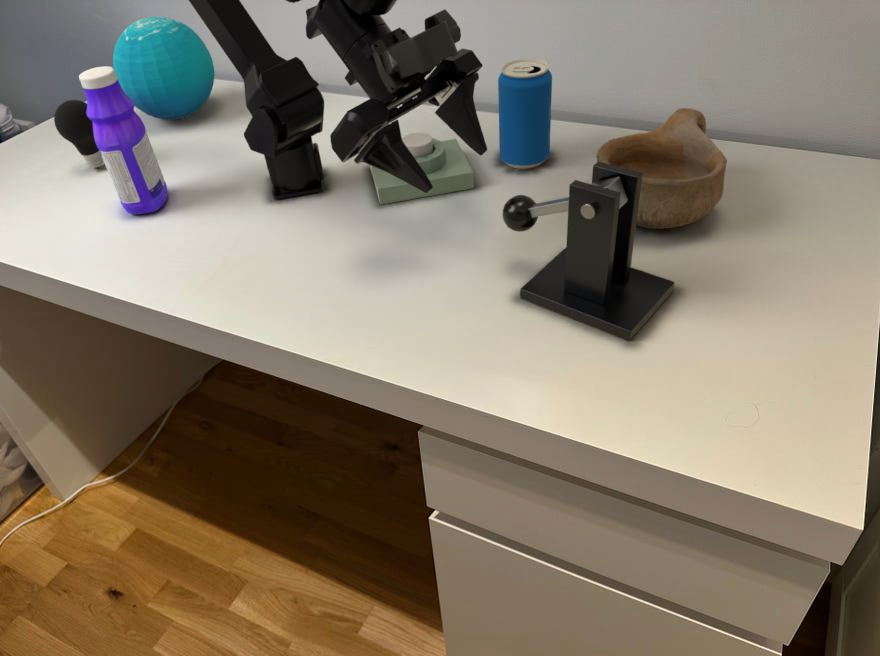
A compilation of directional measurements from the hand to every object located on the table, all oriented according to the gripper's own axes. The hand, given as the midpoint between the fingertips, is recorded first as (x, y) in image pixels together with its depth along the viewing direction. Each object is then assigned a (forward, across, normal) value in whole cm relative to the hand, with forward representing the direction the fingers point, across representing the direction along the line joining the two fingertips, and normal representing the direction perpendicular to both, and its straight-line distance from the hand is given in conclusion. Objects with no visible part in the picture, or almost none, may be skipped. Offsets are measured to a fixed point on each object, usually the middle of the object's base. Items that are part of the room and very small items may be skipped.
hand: (457, 171), depth 72 cm
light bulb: (-34, -12, +48) cm, 61 cm away
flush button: (-6, +10, +14) cm, 18 cm away
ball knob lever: (+11, 0, -8) cm, 13 cm away
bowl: (+16, +19, -3) cm, 25 cm away
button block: (-4, +10, +17) cm, 20 cm away
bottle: (-23, -14, +37) cm, 45 cm away
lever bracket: (+18, 0, -5) cm, 19 cm away
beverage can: (+3, +20, +10) cm, 23 cm away
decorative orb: (-38, +6, +52) cm, 64 cm away
